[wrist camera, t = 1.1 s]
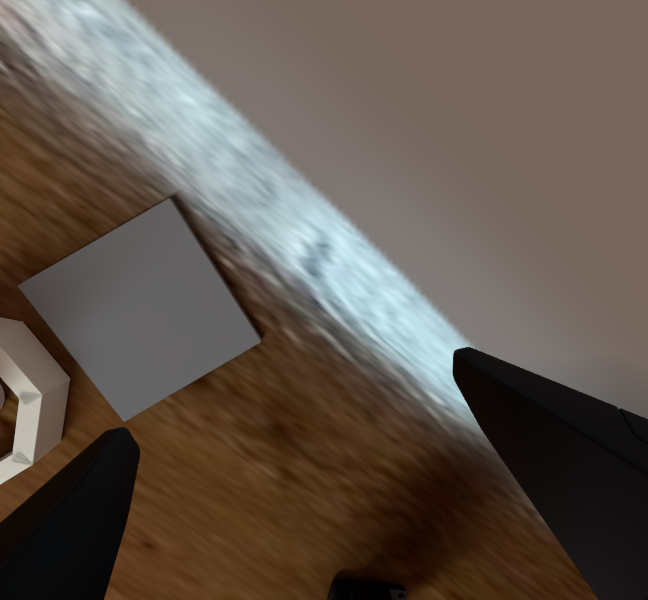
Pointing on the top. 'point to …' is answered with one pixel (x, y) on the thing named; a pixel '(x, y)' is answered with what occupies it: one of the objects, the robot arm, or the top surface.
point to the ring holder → (31, 396)
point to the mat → (142, 310)
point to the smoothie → (1, 397)
